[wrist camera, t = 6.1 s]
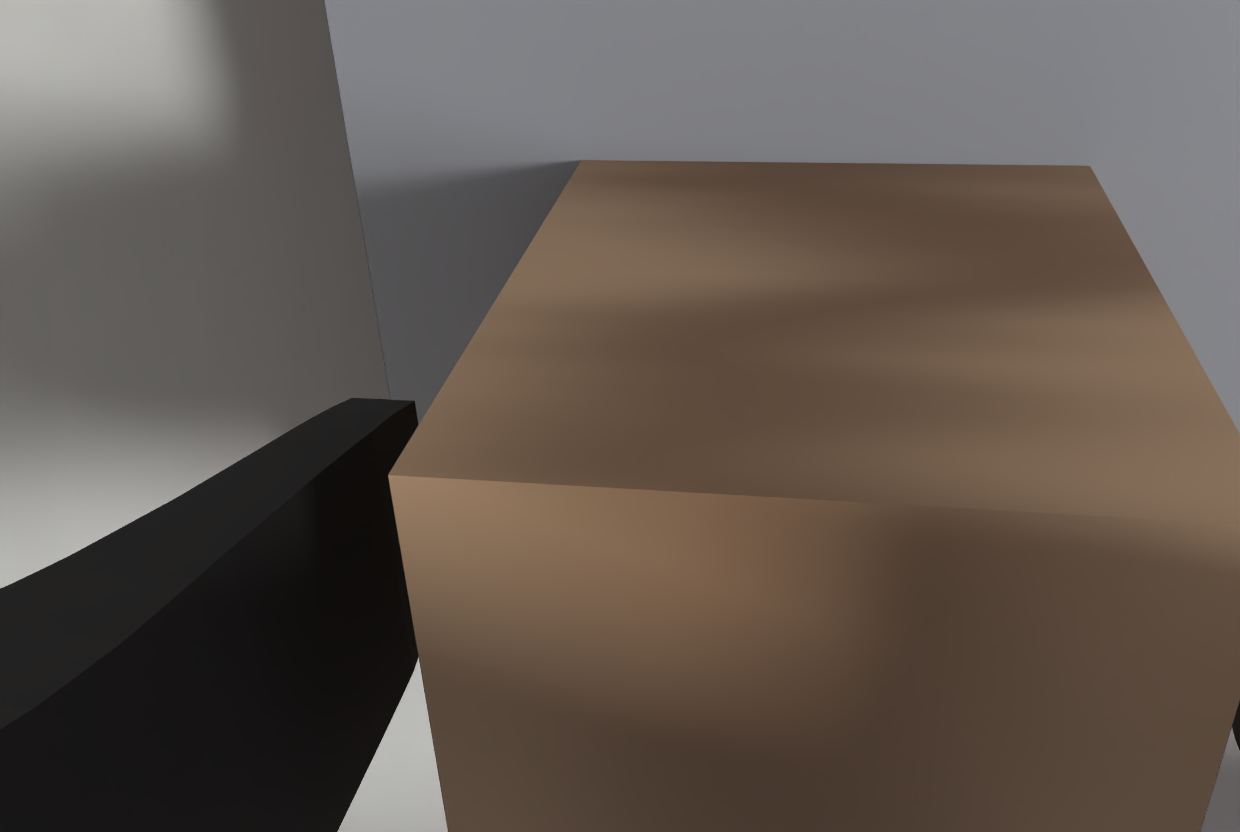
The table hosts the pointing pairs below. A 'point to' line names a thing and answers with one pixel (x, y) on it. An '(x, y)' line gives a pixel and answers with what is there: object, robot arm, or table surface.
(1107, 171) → the gray rectangular slab
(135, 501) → the table surface
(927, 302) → the walnut block
